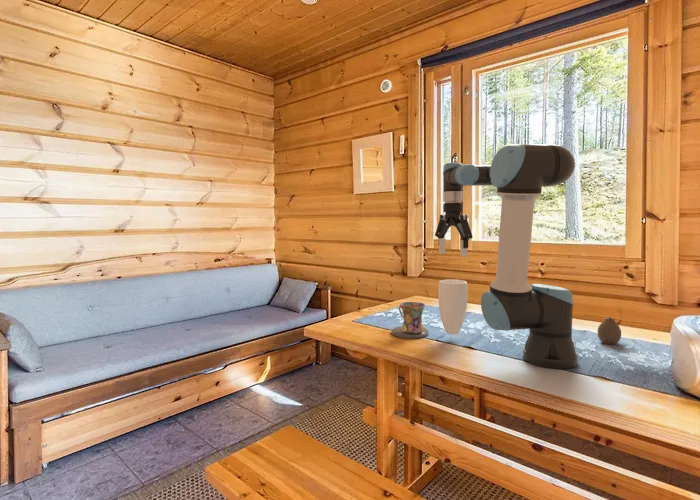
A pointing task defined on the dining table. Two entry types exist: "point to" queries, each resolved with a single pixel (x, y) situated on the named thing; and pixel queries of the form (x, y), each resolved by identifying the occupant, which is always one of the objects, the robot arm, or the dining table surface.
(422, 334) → the disc
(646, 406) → the dining table surface
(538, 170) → the robot arm
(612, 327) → the vase
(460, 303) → the cup
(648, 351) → the dining table surface
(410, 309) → the mug
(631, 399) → the dining table surface
